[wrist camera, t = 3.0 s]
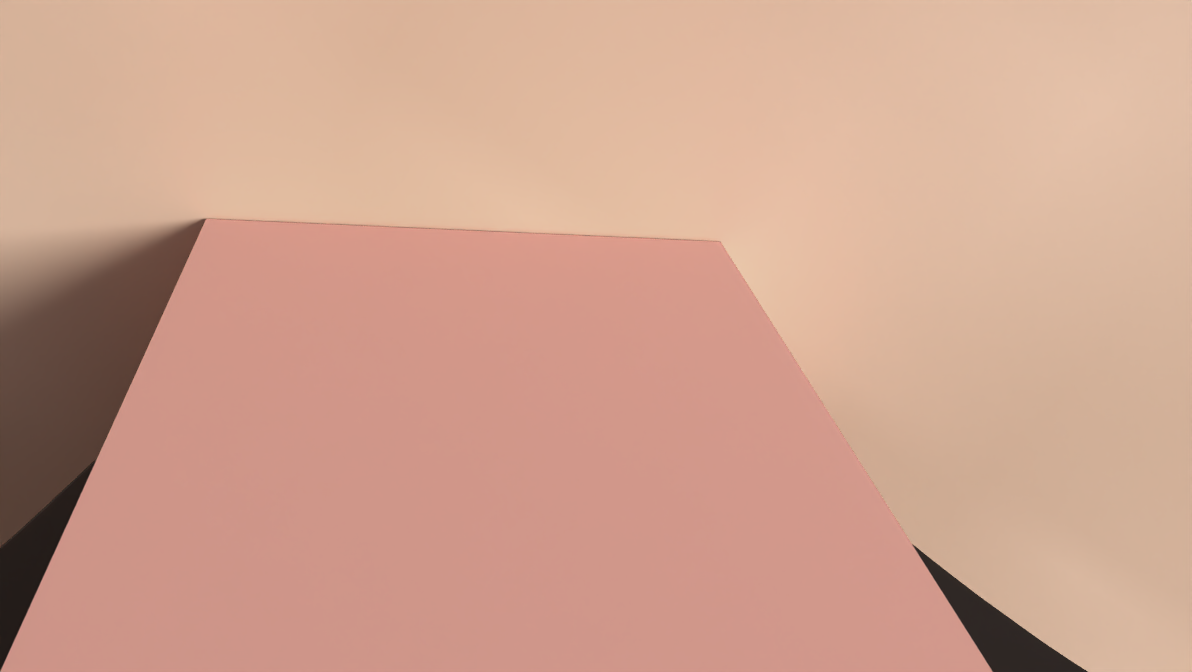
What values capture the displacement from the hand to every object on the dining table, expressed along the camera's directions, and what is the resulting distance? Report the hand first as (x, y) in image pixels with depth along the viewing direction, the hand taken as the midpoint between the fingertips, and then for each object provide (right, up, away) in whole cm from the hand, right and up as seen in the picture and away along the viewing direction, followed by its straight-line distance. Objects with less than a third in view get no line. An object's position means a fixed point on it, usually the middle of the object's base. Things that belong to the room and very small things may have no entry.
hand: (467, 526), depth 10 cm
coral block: (0, +1, +1) cm, 1 cm away
